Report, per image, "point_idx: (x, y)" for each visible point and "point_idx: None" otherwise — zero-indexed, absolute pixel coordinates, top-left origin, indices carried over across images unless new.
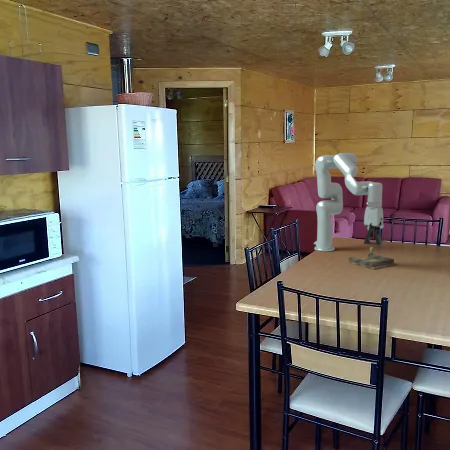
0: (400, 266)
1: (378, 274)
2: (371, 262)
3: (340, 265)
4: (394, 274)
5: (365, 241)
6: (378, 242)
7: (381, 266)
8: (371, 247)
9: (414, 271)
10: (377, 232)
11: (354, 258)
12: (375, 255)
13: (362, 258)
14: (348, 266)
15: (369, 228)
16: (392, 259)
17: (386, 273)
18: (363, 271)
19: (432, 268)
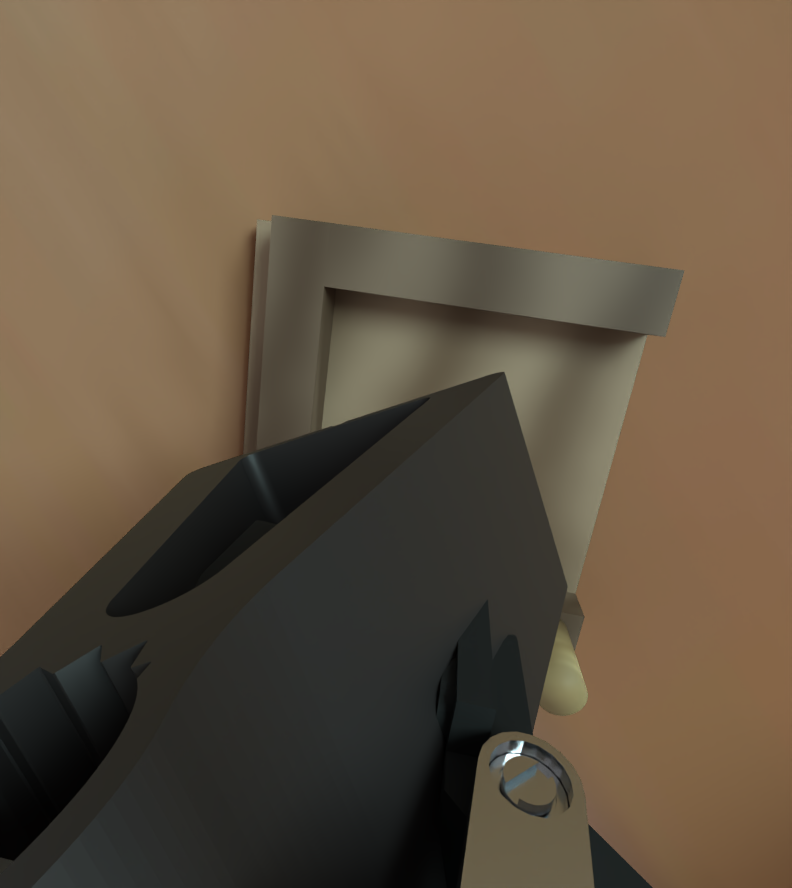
0: None
1: (107, 75)
2: (304, 261)
3: (667, 50)
4: (27, 220)
5: (464, 392)
6: (193, 479)
7: (251, 354)
8: (566, 692)
9: (12, 459)
10: None
11: (589, 280)
12: None
13: (594, 504)
14: (553, 98)
15: (250, 600)
16: None
17: (91, 188)
18: (284, 43)
19: (6, 640)
